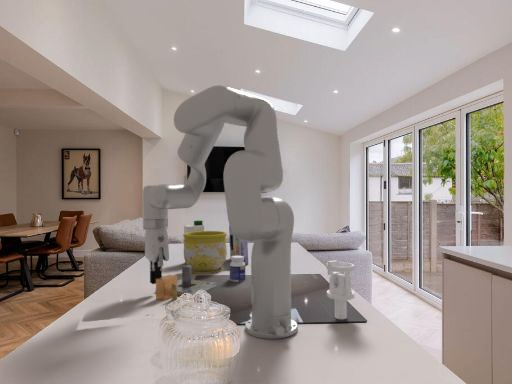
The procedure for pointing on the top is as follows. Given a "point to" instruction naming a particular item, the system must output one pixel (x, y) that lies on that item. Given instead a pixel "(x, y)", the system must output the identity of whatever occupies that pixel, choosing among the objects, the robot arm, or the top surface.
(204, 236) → the flowerpot
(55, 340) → the top surface
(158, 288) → the flange plate
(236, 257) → the pill bottle
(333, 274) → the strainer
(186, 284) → the board
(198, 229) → the milk carton
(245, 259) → the cake pan box
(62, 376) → the top surface
